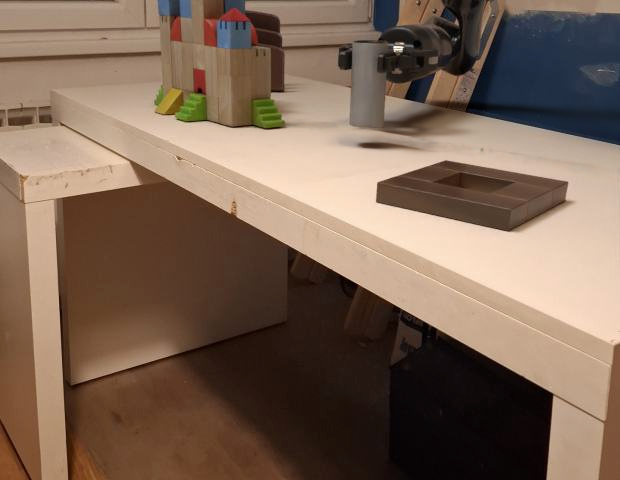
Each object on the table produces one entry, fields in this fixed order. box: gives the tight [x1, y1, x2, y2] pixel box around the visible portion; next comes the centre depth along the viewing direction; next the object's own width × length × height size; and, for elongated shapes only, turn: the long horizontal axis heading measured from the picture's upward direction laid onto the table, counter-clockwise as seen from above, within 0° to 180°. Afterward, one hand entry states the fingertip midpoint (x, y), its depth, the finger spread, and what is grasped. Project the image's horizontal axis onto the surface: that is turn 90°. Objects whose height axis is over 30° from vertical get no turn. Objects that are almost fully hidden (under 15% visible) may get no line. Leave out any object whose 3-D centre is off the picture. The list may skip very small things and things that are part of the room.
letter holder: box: [245, 9, 286, 93], centre depth 145 cm, size 10×20×14 cm, turn 98°
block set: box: [153, 0, 286, 129], centre depth 115 cm, size 28×14×19 cm, turn 37°
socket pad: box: [375, 159, 569, 232], centre depth 76 cm, size 14×14×2 cm
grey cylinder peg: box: [349, 39, 388, 129], centre depth 98 cm, size 4×4×10 cm
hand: (361, 62), depth 94 cm, fingers closed on grey cylinder peg, 4 cm apart
